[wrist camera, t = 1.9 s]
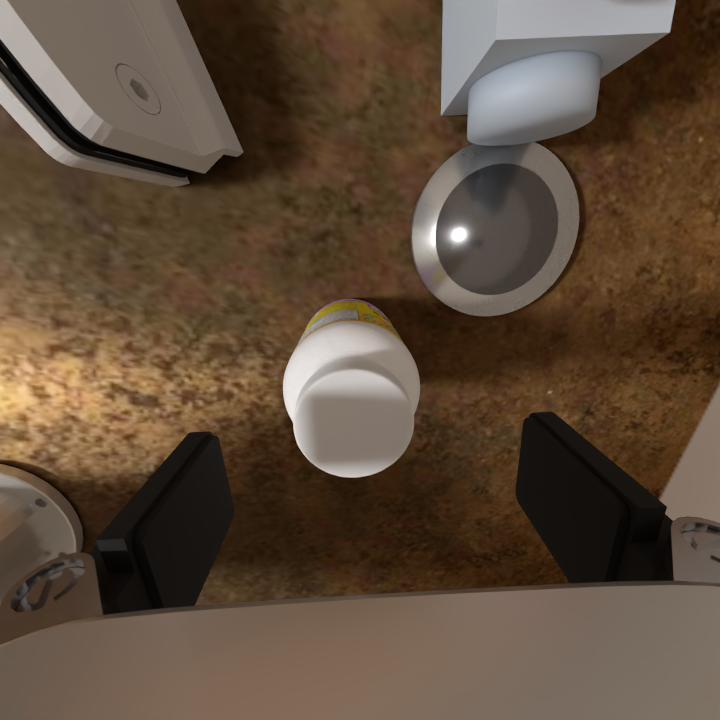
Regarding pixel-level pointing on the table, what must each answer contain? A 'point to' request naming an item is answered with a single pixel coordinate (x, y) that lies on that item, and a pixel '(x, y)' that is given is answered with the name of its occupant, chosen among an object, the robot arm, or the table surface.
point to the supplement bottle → (351, 390)
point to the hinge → (113, 87)
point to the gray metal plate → (494, 227)
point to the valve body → (538, 61)
